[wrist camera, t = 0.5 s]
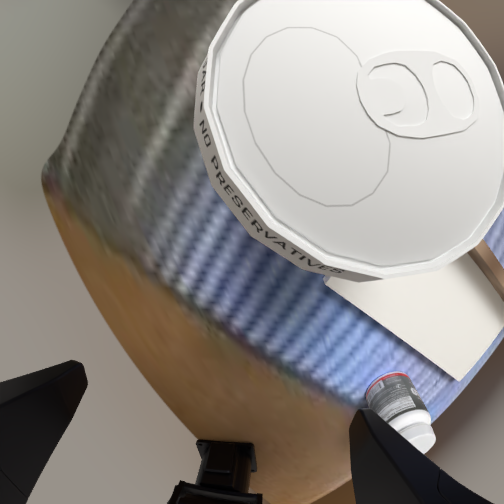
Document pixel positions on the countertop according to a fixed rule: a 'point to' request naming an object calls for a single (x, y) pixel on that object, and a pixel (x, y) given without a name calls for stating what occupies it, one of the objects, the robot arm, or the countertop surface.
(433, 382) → the countertop surface
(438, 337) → the shelf board
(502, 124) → the supplement can
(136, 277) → the countertop surface
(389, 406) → the pill bottle
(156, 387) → the countertop surface
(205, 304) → the countertop surface
